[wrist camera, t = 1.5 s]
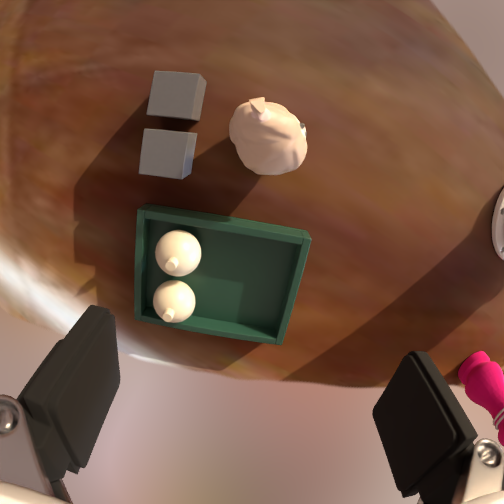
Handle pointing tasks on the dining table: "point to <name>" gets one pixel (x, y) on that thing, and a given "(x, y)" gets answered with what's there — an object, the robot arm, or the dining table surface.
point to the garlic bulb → (268, 137)
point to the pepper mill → (485, 387)
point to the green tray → (224, 273)
